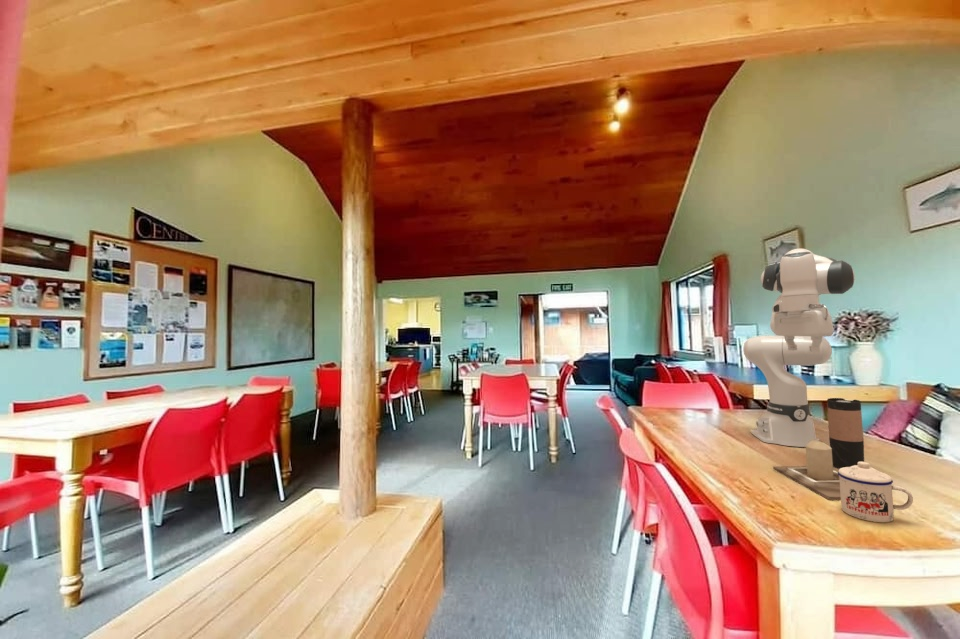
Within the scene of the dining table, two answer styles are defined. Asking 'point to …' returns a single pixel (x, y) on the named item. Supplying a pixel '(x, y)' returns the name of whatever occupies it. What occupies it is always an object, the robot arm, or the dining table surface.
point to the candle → (819, 461)
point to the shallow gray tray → (813, 481)
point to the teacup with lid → (869, 493)
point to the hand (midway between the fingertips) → (803, 351)
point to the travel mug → (845, 432)
